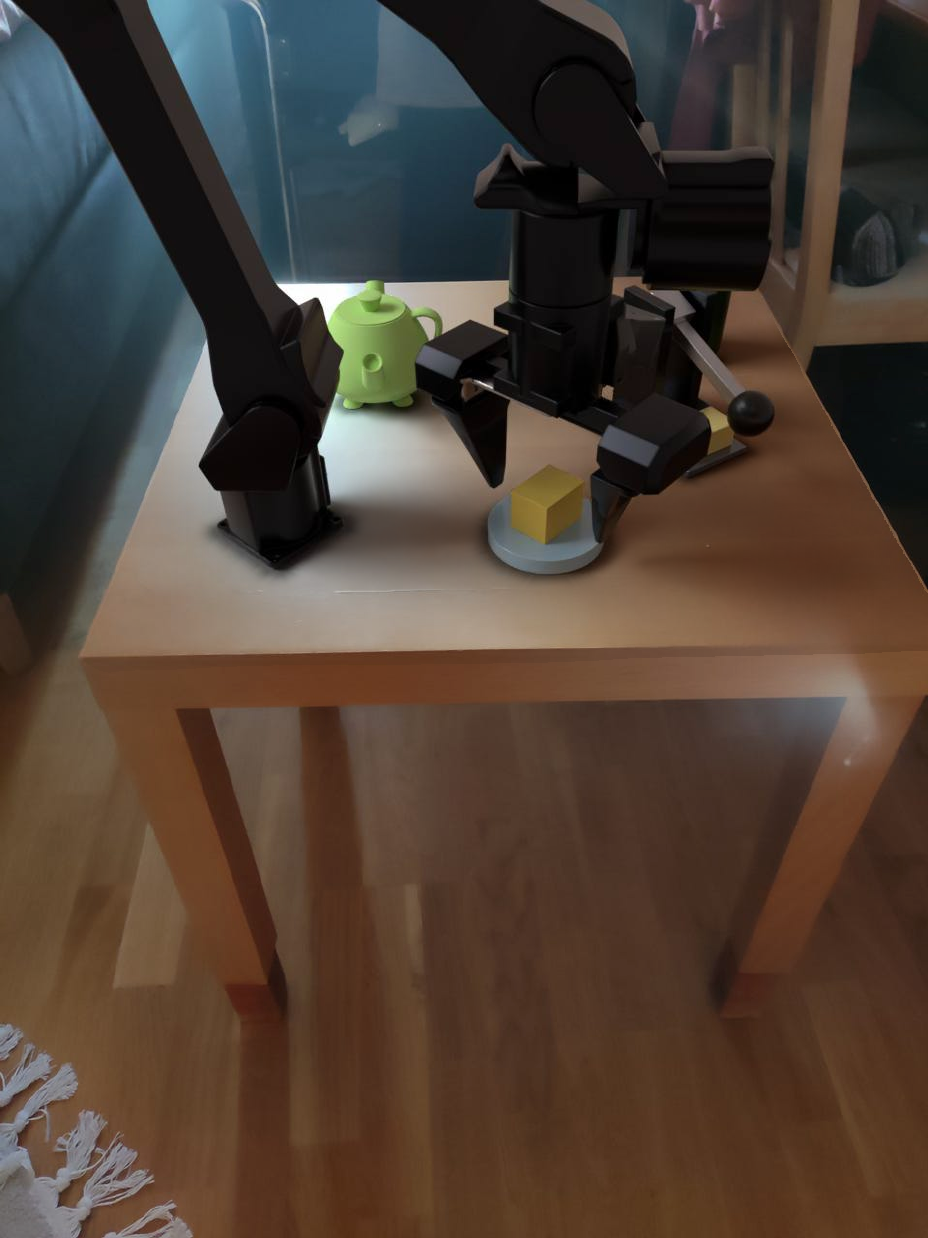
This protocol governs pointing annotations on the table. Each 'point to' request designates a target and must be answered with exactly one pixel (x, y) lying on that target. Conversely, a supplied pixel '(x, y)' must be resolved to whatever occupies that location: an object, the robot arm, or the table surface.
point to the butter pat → (546, 504)
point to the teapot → (378, 346)
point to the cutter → (668, 353)
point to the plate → (535, 557)
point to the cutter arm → (719, 373)
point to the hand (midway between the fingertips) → (547, 511)
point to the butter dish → (717, 458)
